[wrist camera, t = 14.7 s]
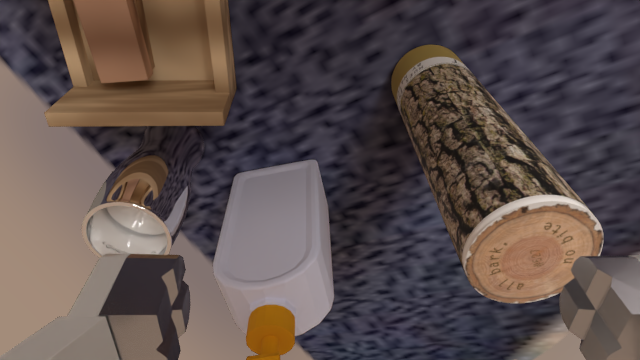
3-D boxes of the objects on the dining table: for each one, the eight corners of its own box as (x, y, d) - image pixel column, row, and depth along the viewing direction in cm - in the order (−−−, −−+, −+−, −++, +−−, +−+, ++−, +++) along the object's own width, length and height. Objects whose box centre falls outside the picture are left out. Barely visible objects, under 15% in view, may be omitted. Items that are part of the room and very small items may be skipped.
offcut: (74, -27, 36) (65, -24, 35) (125, -31, 36) (118, -28, 35) (108, 76, 41) (101, 83, 39) (153, 73, 41) (148, 79, 39)
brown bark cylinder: (402, 120, 46) (480, 317, 26) (379, 59, 43) (449, 229, 22) (468, 94, 45) (609, 280, 24) (451, 30, 42) (597, 180, 21)
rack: (41, -80, 36) (-20, -72, 30) (220, -80, 37) (200, -71, 30) (88, 89, 44) (48, 126, 37) (236, 88, 44) (224, 125, 38)
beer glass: (171, 98, 45) (117, 183, 32) (223, 146, 48) (193, 241, 35) (125, 139, 47) (58, 234, 34) (178, 183, 50) (134, 285, 37)
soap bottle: (252, 223, 53) (221, 417, 34) (234, 172, 49) (188, 359, 30) (329, 209, 52) (342, 400, 33) (316, 157, 49) (323, 338, 29)
